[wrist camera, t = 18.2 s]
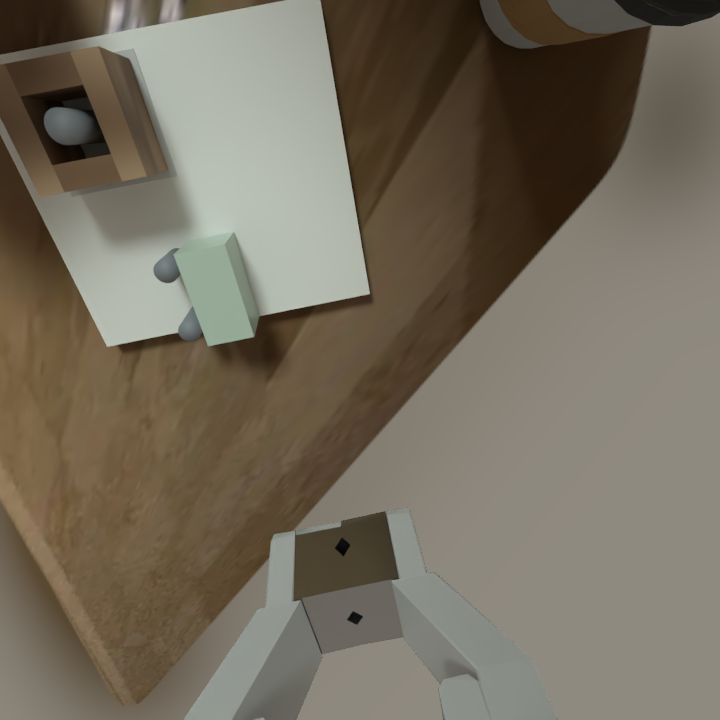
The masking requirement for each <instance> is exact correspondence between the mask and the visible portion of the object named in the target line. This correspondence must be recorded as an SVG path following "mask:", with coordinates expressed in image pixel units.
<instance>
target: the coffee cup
mask: <svg viewBox="0 0 720 720" xmlns="http://www.w3.org/2000/svg"><path fill="white" fill-rule="evenodd" d="M480 6H481V9H482V12H483V15H484V18H485V21H486V23H487V24H488V26H489V27H490V29H491V30H492V32H493V33H494V35H496V36H497V37H498V38H499V39H500V40H501V41H503V42H504V43H505V44H508V45H510V46H513V47H516V48H527V49H531V48H537V47H542V46H547V45H561V44H566V43H572V42H577V41H583V40H588V39H594V38H599V37H605V36H609V35H612V34H616V33H619V32H623V31H626V30H630V29H635V28H640V27H645V26H651V25H664V26H684V25H687V24H691V23H694V22H697V21H700V20H704V19H707V18H711V17H713V16H714V15H716V14H718V13H720V0H480Z"/></svg>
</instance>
